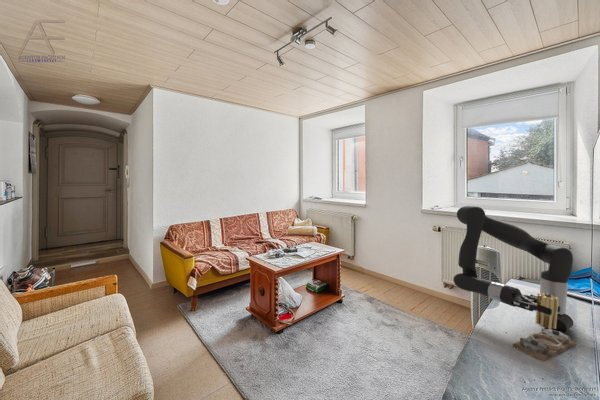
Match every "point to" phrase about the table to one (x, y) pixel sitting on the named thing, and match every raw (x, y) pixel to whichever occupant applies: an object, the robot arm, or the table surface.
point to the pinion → (548, 302)
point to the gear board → (545, 344)
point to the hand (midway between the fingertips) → (555, 310)
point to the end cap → (563, 323)
